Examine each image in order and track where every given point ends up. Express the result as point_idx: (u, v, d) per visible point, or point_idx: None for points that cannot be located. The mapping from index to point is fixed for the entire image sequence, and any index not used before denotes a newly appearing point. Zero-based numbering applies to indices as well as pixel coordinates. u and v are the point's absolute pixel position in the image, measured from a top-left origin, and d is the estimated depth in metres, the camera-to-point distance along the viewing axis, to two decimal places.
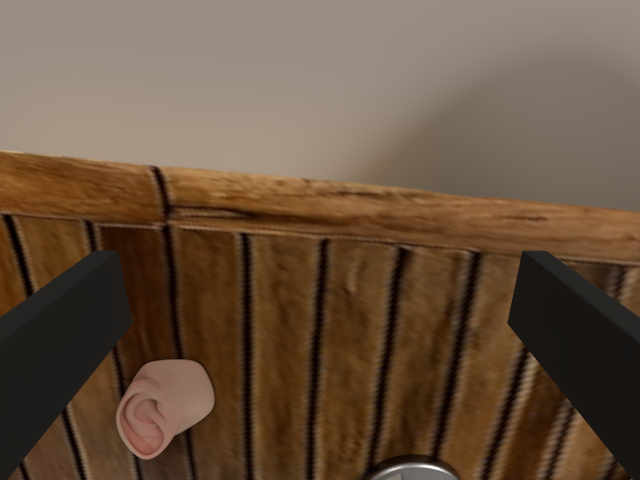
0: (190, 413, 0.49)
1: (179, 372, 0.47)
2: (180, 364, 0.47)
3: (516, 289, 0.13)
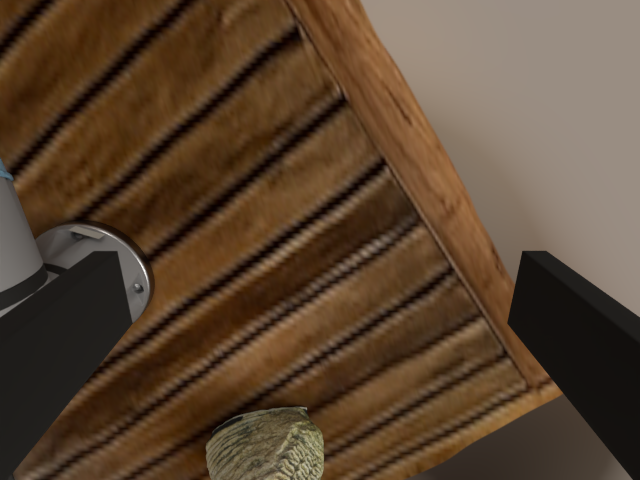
0: None
1: None
2: None
3: (516, 289, 0.13)
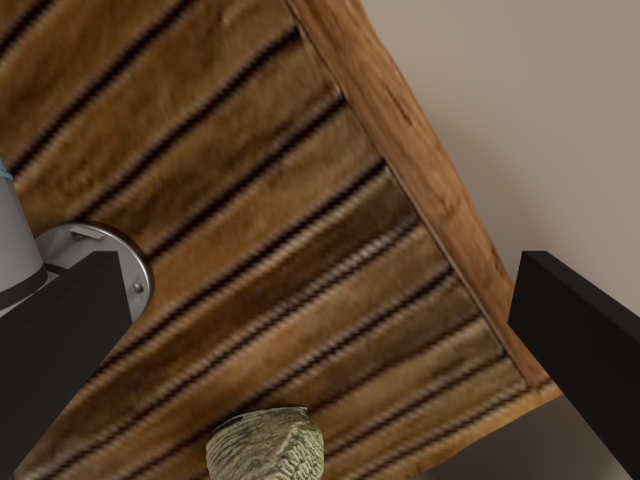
0: None
1: None
2: None
3: (516, 289, 0.13)
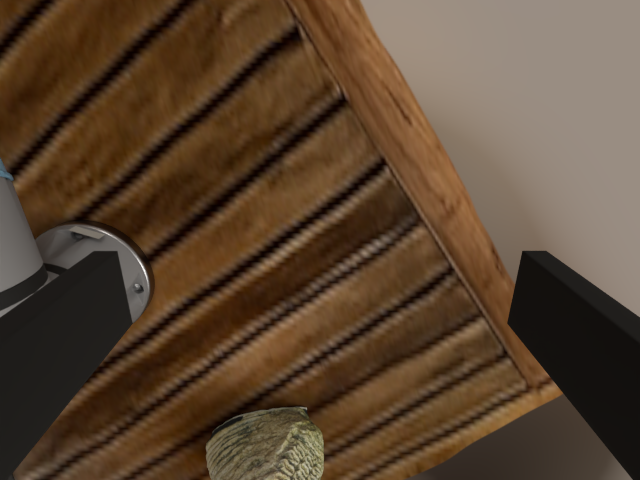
0: None
1: None
2: None
3: (516, 289, 0.13)
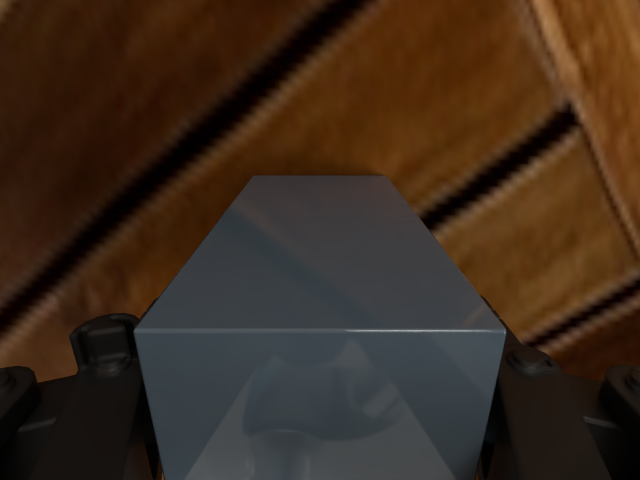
0: None
1: None
2: None
3: None
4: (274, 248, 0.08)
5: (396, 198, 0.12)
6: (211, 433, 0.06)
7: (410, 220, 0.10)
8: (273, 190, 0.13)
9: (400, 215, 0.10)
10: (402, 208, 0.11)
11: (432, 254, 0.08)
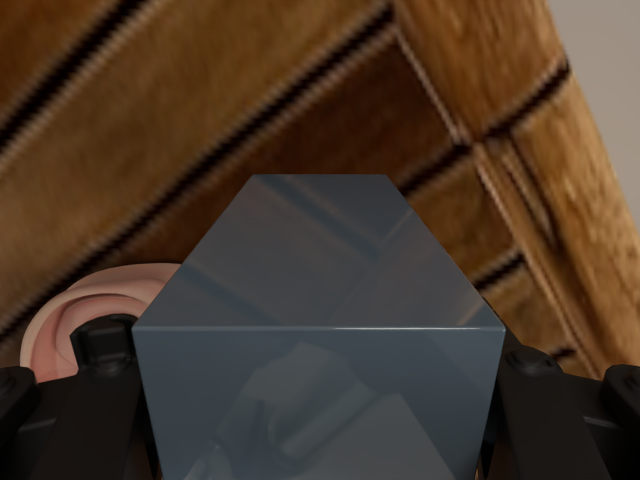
0: None
1: None
2: None
3: None
4: (272, 246, 0.08)
5: (395, 197, 0.12)
6: (209, 431, 0.06)
7: (409, 218, 0.10)
8: (272, 189, 0.13)
9: (400, 214, 0.10)
10: (401, 207, 0.11)
11: (431, 252, 0.08)
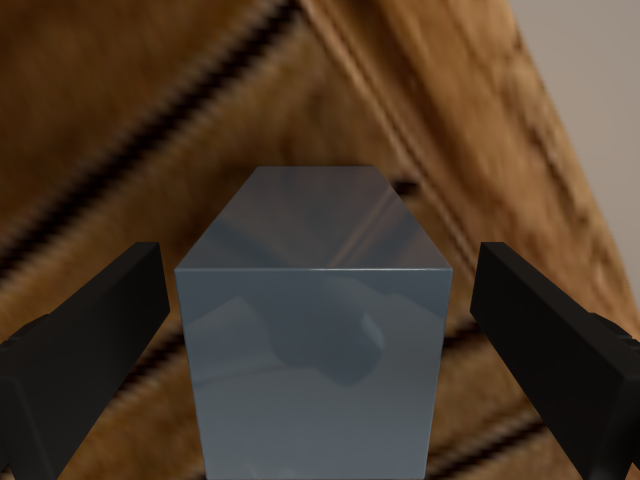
0: None
1: None
2: None
3: (476, 278, 0.13)
4: (277, 219, 0.10)
5: (382, 183, 0.14)
6: (230, 353, 0.08)
7: (392, 199, 0.12)
8: (275, 177, 0.15)
9: (384, 196, 0.12)
10: (386, 191, 0.13)
11: (406, 222, 0.10)
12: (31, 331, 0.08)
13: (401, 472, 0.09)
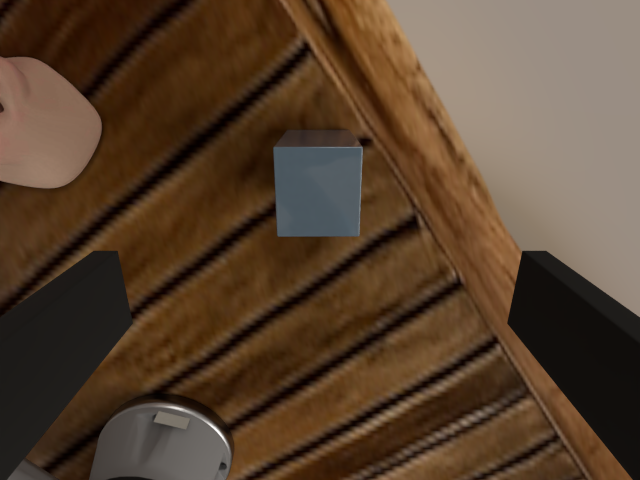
0: (29, 164, 0.32)
1: (69, 108, 0.31)
2: (79, 101, 0.31)
3: (515, 289, 0.13)
4: (303, 140, 0.26)
5: (349, 134, 0.30)
6: (289, 179, 0.24)
7: (351, 137, 0.28)
8: (298, 132, 0.30)
9: (348, 136, 0.28)
10: (350, 135, 0.28)
11: (353, 141, 0.25)
12: None
13: (350, 232, 0.25)
